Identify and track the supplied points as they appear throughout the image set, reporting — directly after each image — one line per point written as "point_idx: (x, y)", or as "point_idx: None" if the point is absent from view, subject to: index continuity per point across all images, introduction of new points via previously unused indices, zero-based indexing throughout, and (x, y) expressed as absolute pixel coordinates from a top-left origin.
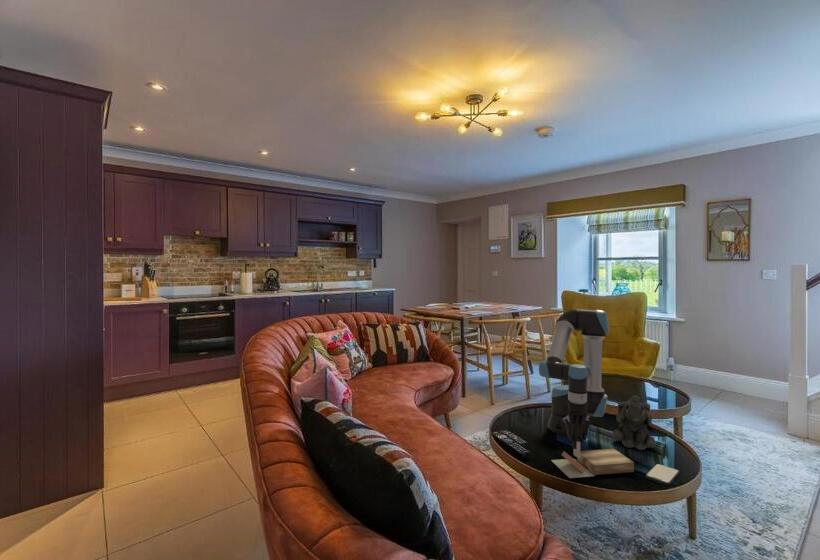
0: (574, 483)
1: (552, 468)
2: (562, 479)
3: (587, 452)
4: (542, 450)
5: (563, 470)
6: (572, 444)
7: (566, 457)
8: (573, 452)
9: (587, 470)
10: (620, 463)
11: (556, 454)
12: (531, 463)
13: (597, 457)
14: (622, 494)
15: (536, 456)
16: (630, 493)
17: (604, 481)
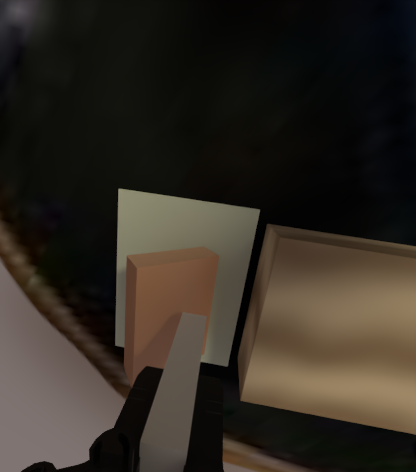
0: (114, 373)
1: (87, 257)
2: (84, 340)
3: (337, 274)
4: (138, 32)
5: (121, 295)
6: (126, 407)
7: (127, 308)
8: (179, 322)
9: (231, 328)
10: (399, 430)
11: (197, 121)
12: (5, 183)
13: (337, 347)
14: (229, 462)
15: (61, 111)
16: (260, 468)
17: (236, 399)
